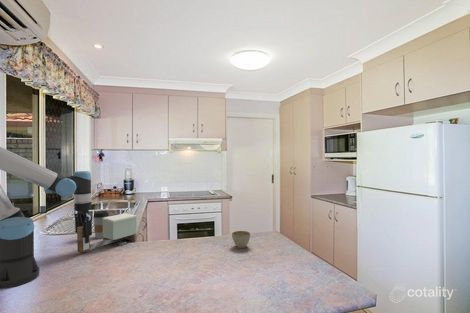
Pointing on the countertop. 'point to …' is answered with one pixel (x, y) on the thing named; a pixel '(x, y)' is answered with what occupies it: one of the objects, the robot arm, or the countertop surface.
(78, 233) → the brown angled piece
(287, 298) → the countertop surface
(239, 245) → the flower pot
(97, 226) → the coffee cup
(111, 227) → the pale green box
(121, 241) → the token
